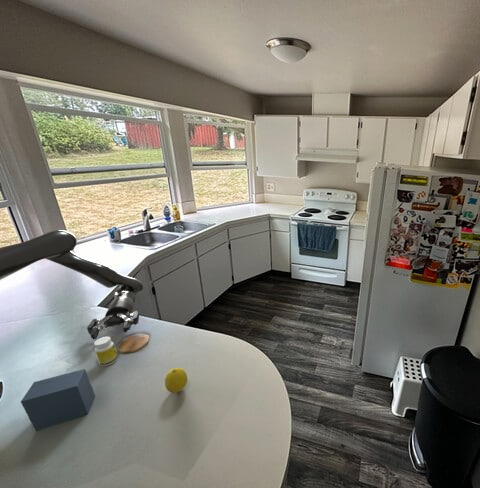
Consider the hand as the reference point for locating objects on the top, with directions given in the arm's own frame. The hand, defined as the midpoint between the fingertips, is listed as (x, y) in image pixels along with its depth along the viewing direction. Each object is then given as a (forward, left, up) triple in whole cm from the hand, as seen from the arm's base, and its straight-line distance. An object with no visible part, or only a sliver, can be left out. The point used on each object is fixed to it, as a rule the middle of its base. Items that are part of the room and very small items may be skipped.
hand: (109, 333), depth 86 cm
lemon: (+21, -29, -6) cm, 36 cm away
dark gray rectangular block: (-5, -24, -6) cm, 25 cm away
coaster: (+6, -1, -6) cm, 9 cm away
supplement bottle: (0, -7, -6) cm, 9 cm away
